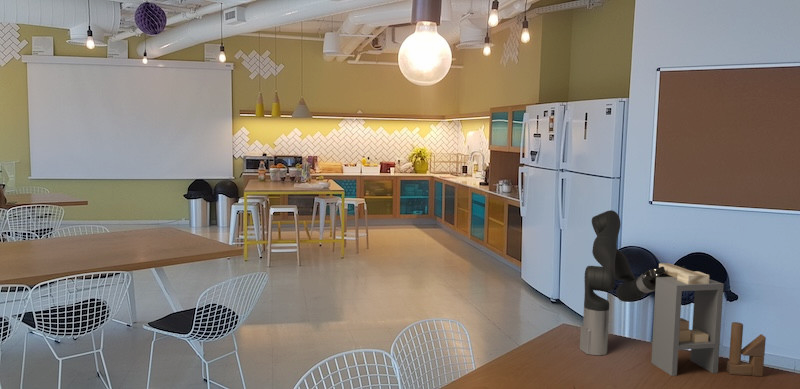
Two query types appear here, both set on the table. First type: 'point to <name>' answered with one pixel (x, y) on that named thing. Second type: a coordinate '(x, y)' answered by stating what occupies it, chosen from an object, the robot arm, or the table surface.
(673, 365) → the frame
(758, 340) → the wooden block
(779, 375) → the table surface
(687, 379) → the table surface
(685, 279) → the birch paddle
